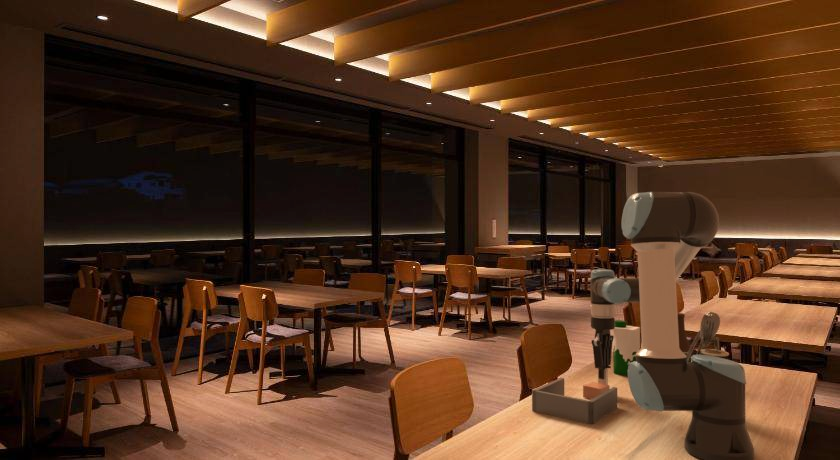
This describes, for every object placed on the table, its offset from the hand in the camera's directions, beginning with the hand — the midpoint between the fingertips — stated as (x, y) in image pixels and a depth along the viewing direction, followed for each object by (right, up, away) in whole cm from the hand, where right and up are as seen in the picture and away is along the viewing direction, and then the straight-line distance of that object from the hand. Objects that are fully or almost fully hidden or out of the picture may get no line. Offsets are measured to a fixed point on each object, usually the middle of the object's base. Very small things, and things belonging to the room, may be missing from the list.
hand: (603, 388), depth 184 cm
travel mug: (+26, -2, -21) cm, 33 cm away
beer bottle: (+32, -2, +16) cm, 36 cm away
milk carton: (+16, -2, +23) cm, 28 cm away
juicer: (+22, -1, -12) cm, 25 cm away
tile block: (-3, -2, -4) cm, 6 cm away
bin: (-14, -2, -16) cm, 21 cm away
